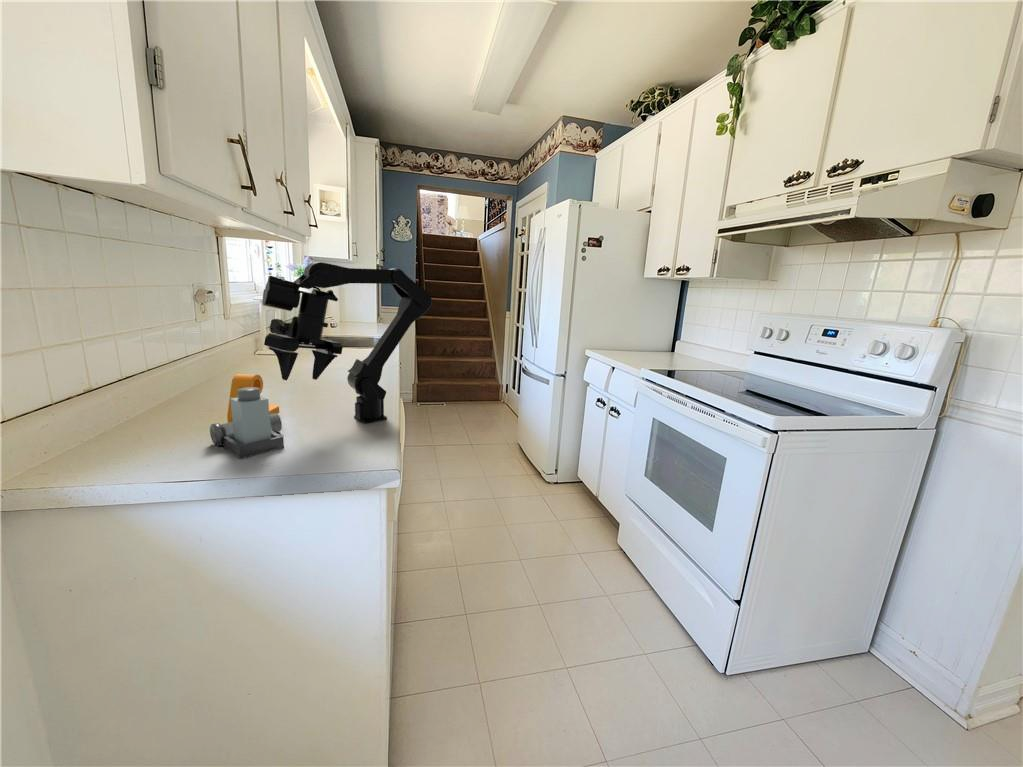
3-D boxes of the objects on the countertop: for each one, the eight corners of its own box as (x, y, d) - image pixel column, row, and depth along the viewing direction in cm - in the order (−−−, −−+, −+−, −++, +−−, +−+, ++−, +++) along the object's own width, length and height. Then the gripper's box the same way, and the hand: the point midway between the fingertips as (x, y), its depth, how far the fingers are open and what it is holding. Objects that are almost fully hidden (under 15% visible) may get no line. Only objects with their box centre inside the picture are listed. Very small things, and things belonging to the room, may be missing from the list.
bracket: (258, 428, 102) (254, 380, 100) (228, 426, 102) (223, 378, 100) (281, 414, 113) (277, 371, 110) (253, 413, 113) (249, 369, 110)
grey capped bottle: (261, 441, 94) (256, 385, 91) (272, 447, 91) (267, 389, 88) (235, 447, 90) (229, 389, 87) (245, 454, 87) (240, 394, 84)
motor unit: (273, 428, 102) (271, 409, 101) (300, 443, 95) (299, 422, 94) (211, 442, 92) (208, 421, 91) (236, 459, 84) (234, 437, 83)
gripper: (314, 314, 111) (303, 372, 112) (251, 302, 93) (239, 371, 94) (348, 322, 107) (337, 382, 109) (290, 312, 90) (277, 383, 91)
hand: (300, 379), depth 101 cm, fingers open, 9 cm apart
